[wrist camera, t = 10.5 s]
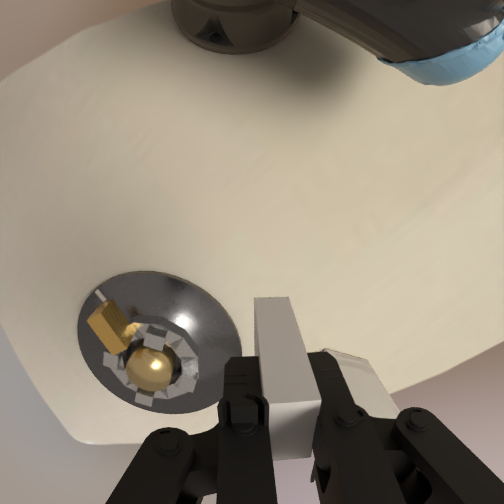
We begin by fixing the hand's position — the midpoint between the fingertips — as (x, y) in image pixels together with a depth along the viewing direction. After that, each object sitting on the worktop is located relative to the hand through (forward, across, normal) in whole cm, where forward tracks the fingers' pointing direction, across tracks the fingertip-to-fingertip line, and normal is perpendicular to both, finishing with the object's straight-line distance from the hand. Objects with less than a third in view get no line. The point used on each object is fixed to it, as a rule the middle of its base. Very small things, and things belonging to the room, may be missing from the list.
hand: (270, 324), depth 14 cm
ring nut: (+23, -14, -17) cm, 32 cm away
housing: (+24, -14, -18) cm, 33 cm away
